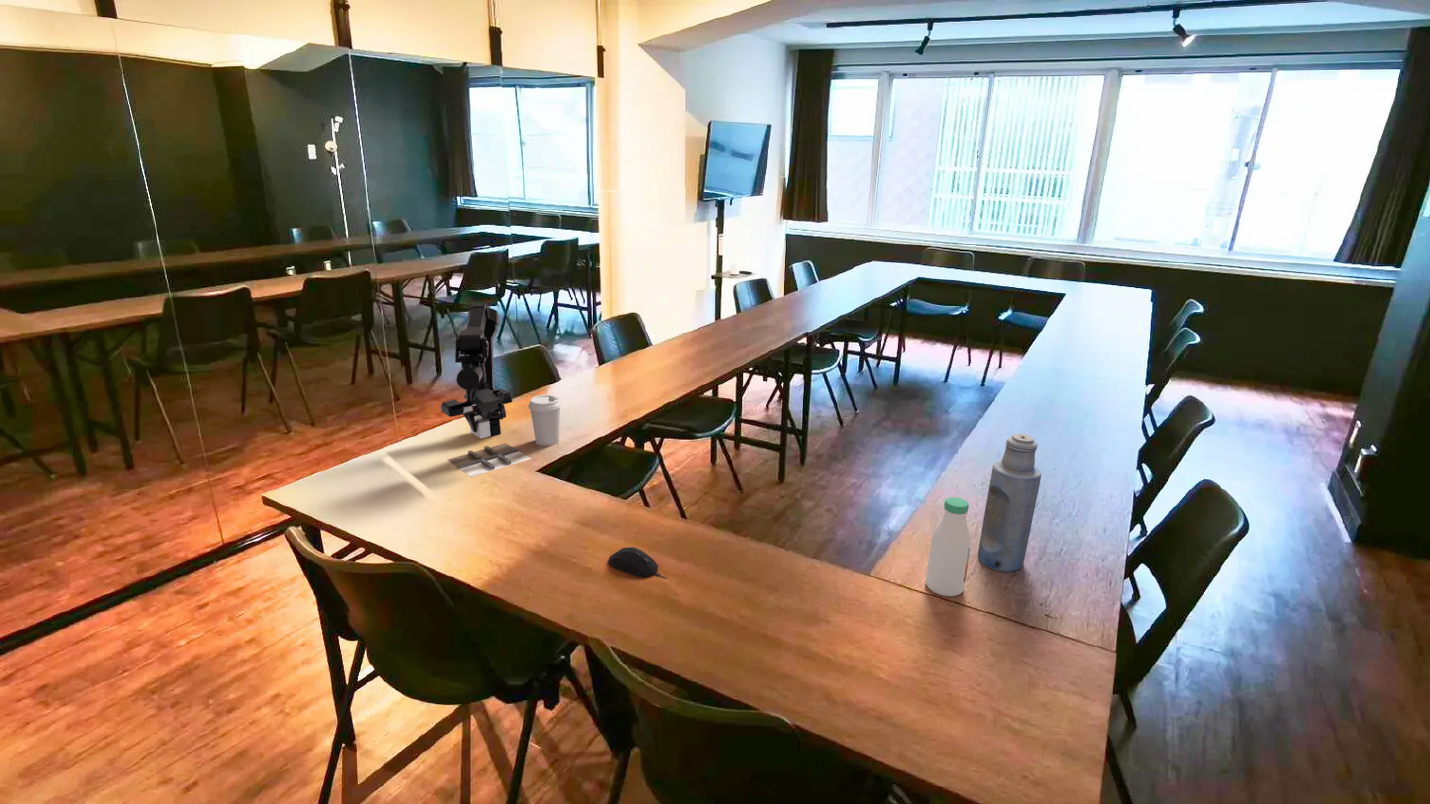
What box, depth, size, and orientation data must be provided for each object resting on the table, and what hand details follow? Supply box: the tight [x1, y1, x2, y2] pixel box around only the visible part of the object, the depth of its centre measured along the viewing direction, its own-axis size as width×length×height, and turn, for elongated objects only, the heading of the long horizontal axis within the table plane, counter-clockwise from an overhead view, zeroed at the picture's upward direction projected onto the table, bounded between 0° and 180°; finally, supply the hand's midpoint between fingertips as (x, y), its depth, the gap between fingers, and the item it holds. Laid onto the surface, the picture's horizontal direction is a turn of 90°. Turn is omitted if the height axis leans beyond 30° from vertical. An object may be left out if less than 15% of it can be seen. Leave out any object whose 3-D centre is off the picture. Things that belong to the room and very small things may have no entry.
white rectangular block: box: [469, 415, 492, 439], centre depth 201 cm, size 6×3×5 cm, turn 44°
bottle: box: [977, 433, 1042, 573], centre depth 154 cm, size 10×10×30 cm
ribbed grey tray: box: [447, 442, 532, 478], centre depth 202 cm, size 15×18×2 cm
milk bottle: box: [925, 496, 972, 598], centre depth 146 cm, size 8×8×20 cm
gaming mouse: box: [608, 546, 667, 580], centre depth 154 cm, size 6×15×4 cm, turn 58°
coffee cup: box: [528, 394, 562, 447], centre depth 212 cm, size 10×10×15 cm
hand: (480, 430), depth 202 cm, fingers closed on white rectangular block, 3 cm apart
